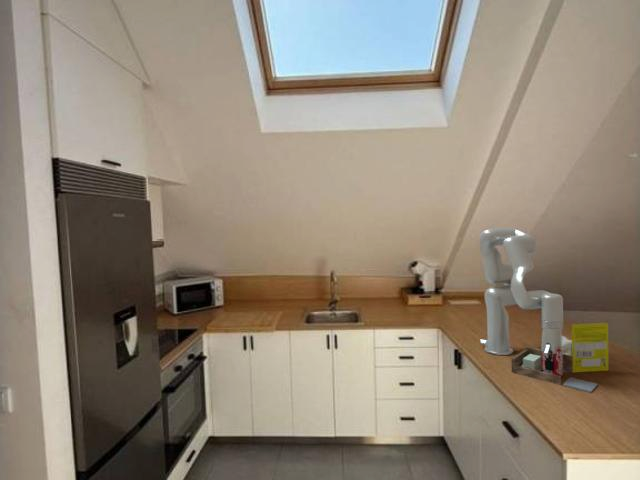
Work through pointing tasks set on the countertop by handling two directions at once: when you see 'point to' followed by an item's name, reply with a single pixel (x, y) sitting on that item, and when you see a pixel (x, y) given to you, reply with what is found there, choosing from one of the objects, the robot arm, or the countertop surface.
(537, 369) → the offcut lower
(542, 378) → the frame
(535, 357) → the offcut upper
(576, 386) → the slate mat
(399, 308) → the countertop surface
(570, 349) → the white decorative knot
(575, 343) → the food package
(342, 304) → the countertop surface
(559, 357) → the soda can
